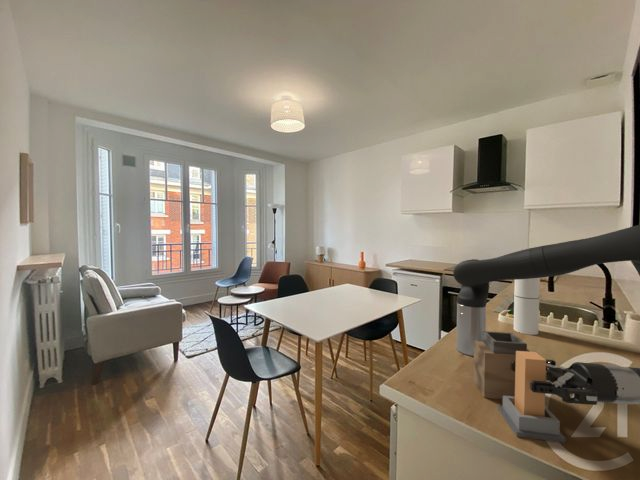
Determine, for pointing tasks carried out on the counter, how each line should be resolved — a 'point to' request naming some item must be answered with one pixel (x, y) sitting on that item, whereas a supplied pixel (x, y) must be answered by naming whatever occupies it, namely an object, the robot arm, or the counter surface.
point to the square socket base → (496, 363)
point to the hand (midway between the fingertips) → (520, 375)
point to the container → (526, 306)
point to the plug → (525, 372)
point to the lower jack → (530, 422)
